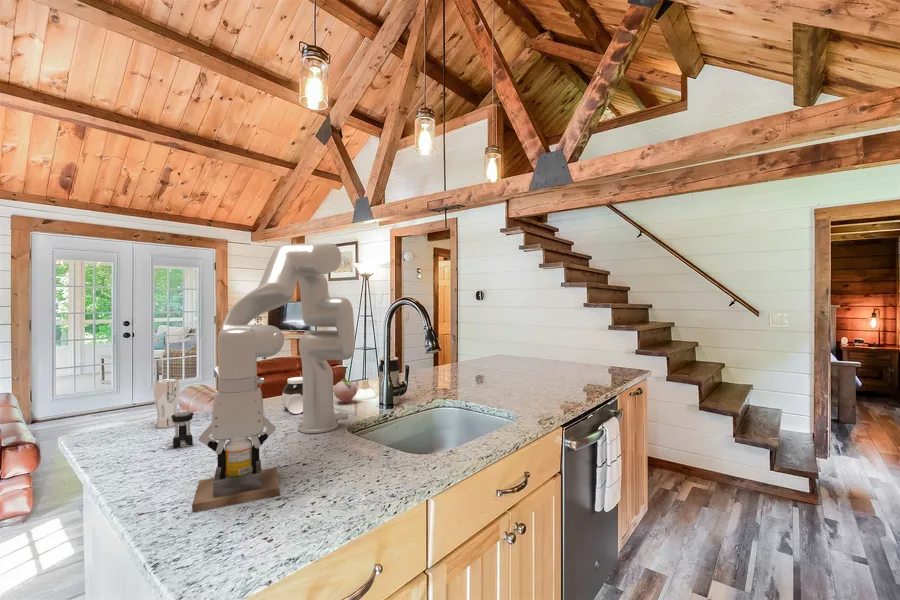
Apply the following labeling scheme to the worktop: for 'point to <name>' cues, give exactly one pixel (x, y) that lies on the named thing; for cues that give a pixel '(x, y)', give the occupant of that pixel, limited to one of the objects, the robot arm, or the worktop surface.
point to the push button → (182, 429)
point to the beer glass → (166, 401)
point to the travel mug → (393, 372)
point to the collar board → (236, 488)
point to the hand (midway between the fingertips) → (239, 466)
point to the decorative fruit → (345, 390)
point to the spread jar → (293, 395)
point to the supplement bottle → (238, 457)
